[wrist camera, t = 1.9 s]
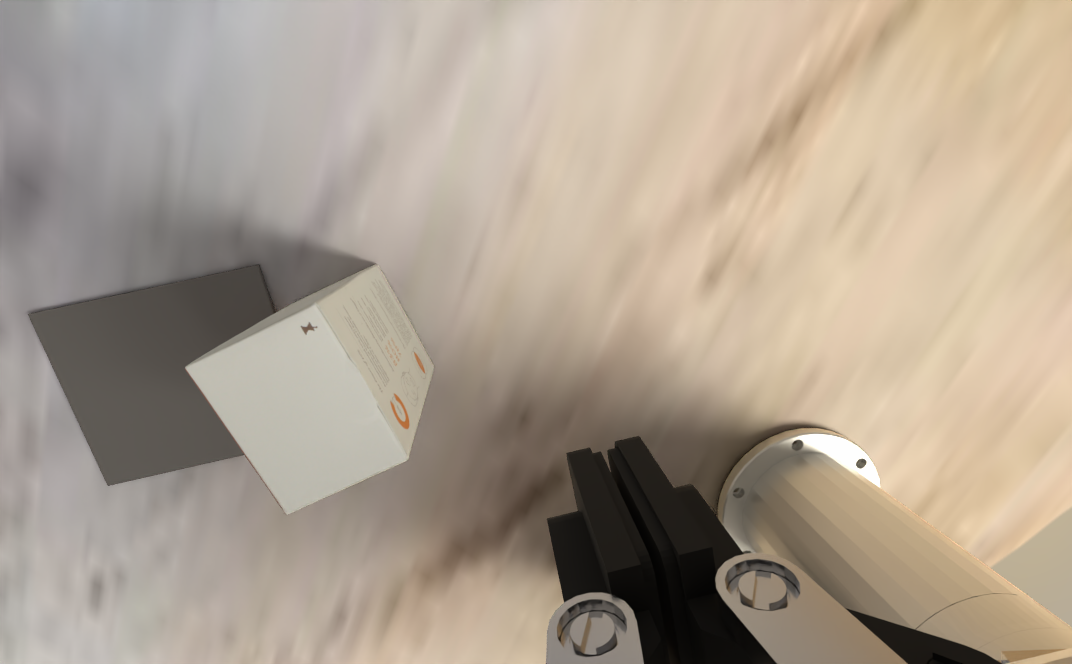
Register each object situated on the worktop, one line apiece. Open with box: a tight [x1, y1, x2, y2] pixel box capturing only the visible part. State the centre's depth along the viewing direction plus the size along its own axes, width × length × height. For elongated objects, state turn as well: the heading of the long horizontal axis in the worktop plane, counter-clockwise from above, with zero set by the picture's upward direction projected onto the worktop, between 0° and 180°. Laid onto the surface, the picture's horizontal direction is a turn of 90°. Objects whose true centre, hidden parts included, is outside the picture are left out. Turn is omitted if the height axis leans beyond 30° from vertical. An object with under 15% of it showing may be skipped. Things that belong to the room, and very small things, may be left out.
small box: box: [185, 264, 434, 515], centre depth 29 cm, size 8×6×13 cm
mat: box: [28, 265, 275, 486], centre depth 35 cm, size 12×14×1 cm
